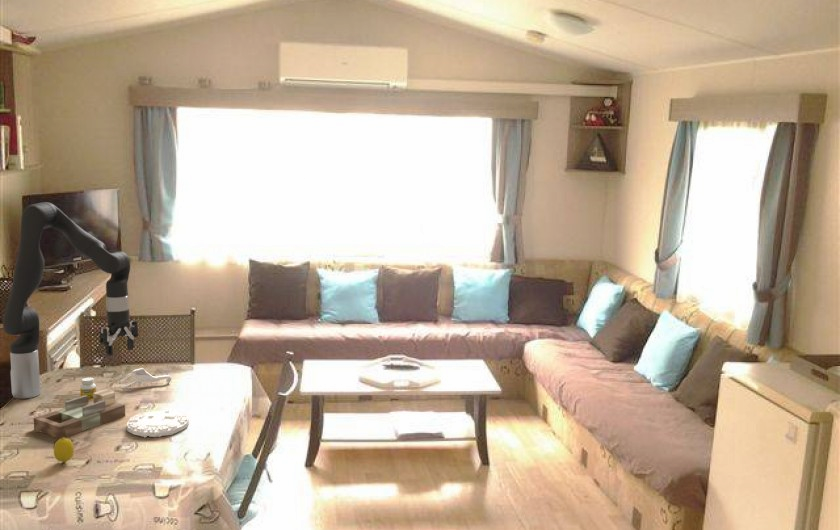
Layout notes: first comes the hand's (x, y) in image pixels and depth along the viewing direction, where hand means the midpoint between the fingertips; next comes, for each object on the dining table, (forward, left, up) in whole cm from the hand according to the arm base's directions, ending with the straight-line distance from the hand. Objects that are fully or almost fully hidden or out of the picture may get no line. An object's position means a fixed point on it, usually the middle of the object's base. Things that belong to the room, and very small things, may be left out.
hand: (120, 352), depth 268 cm
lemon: (+24, -40, -21) cm, 51 cm away
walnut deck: (0, -17, -21) cm, 27 cm away
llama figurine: (-13, +21, -21) cm, 32 cm away
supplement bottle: (-13, -5, -21) cm, 25 cm away
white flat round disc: (+24, -5, -21) cm, 33 cm away
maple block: (0, -8, -17) cm, 18 cm away
